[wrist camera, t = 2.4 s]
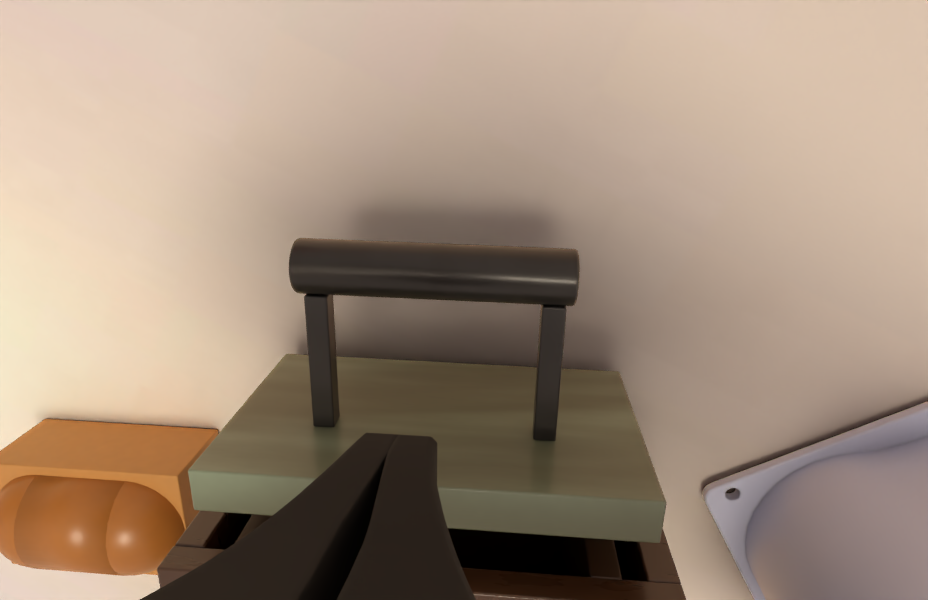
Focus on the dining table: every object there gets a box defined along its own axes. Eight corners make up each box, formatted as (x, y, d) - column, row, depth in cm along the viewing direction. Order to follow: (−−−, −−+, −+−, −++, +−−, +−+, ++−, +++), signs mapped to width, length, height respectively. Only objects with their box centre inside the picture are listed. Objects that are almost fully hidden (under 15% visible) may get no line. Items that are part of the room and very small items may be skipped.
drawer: (273, 204, 19) (153, 263, 13) (637, 217, 19) (701, 287, 12) (309, 627, 25) (239, 810, 19) (586, 650, 25) (611, 849, 18)
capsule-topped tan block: (67, 510, 25) (-23, 595, 21) (45, 418, 24) (-56, 490, 20) (230, 522, 25) (172, 612, 21) (217, 429, 23) (152, 504, 19)
